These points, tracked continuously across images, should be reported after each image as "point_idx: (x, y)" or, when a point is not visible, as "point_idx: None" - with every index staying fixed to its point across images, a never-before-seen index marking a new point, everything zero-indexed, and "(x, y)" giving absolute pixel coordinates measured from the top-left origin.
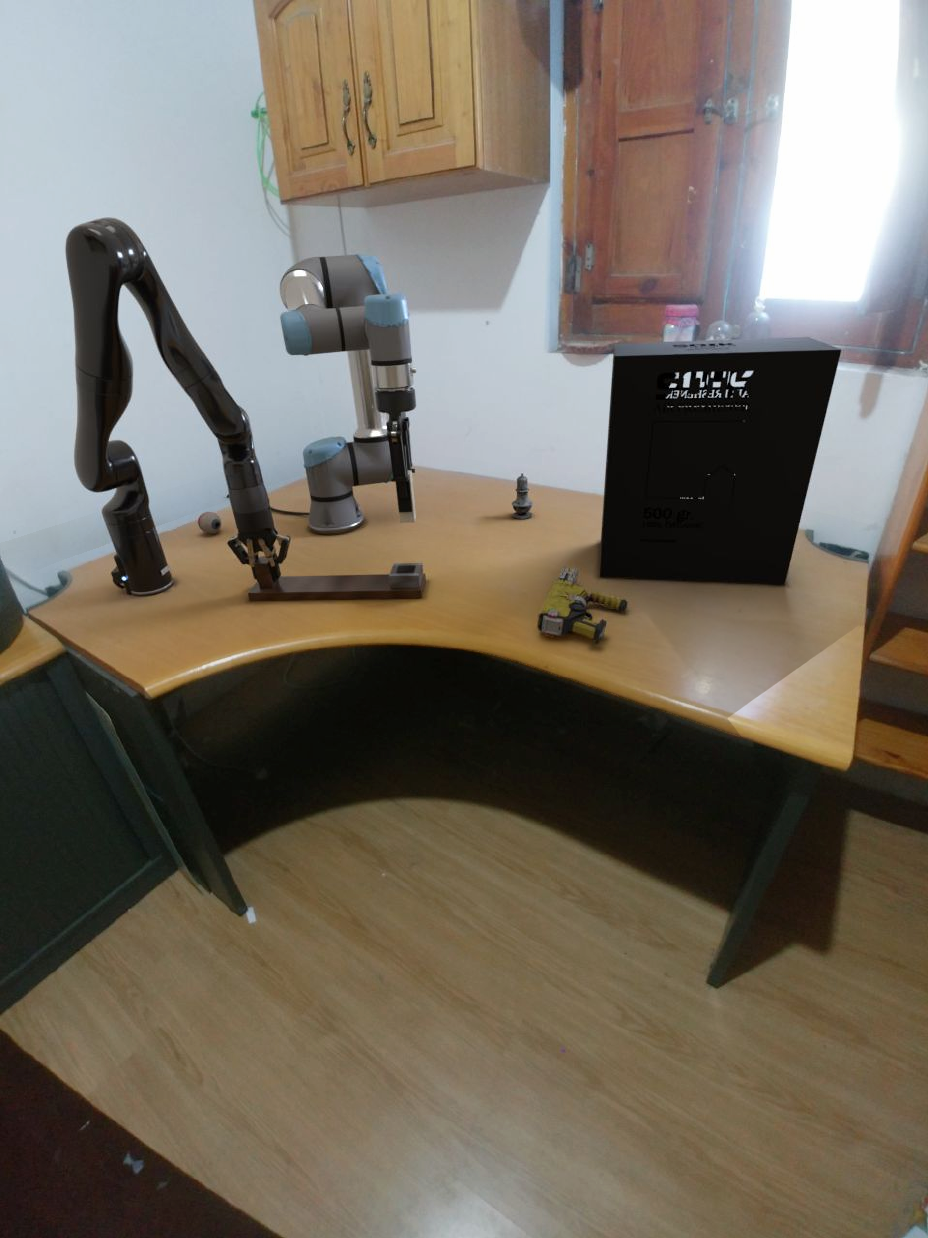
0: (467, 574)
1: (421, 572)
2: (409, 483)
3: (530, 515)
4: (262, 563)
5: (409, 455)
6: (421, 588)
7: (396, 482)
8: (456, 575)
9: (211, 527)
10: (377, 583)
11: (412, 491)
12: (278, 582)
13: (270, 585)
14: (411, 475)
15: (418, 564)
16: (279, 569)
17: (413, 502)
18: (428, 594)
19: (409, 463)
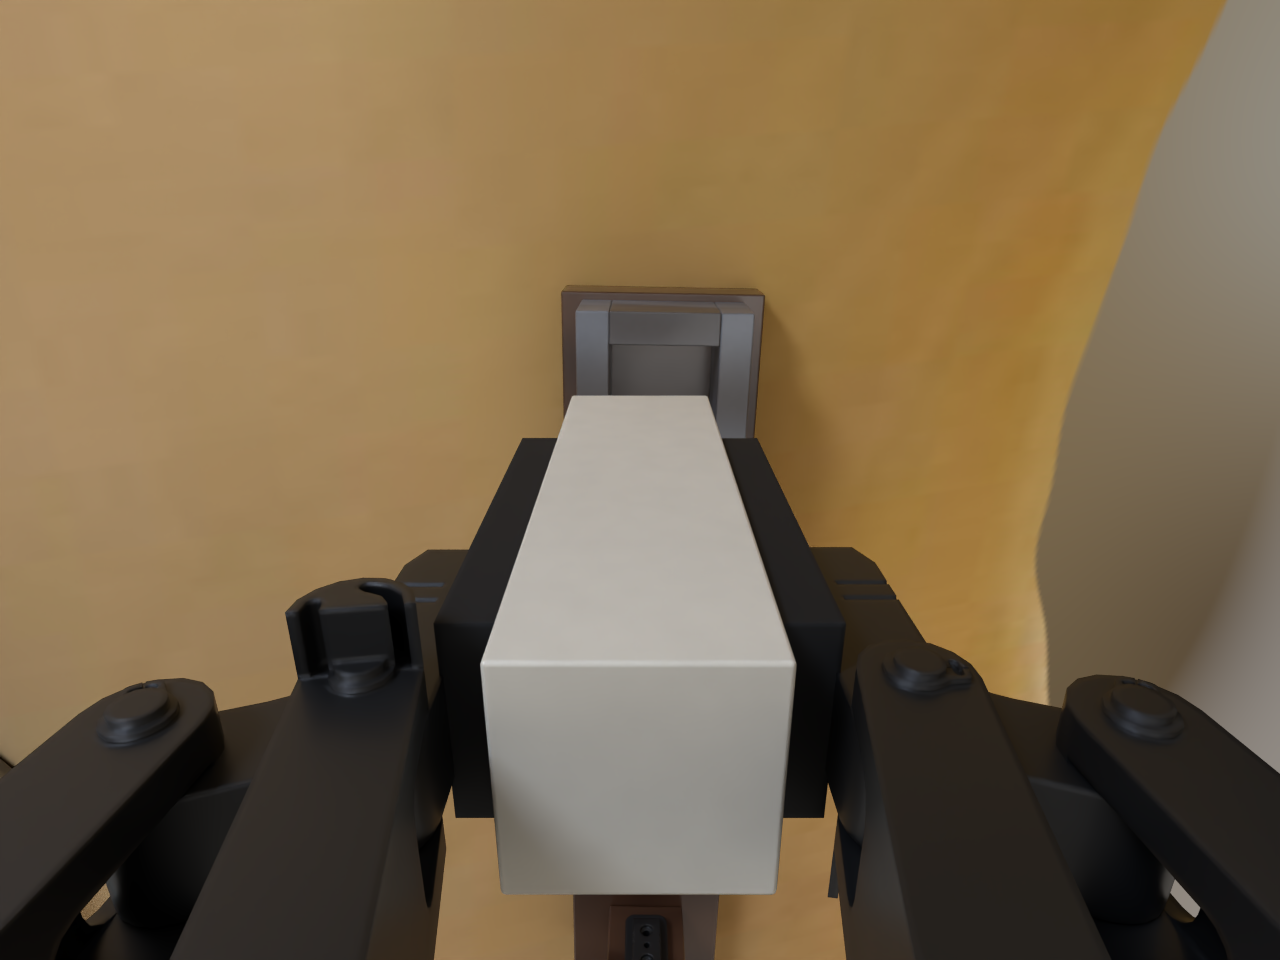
0: (472, 30)
1: (642, 306)
2: (804, 591)
3: None
4: None
5: (209, 957)
6: (740, 293)
7: (819, 787)
8: (487, 105)
9: None
10: None
11: (658, 502)
12: (630, 901)
13: (682, 923)
14: (594, 617)
15: (600, 331)
16: (637, 946)
17: (658, 451)
18: (715, 256)
19: (406, 794)
